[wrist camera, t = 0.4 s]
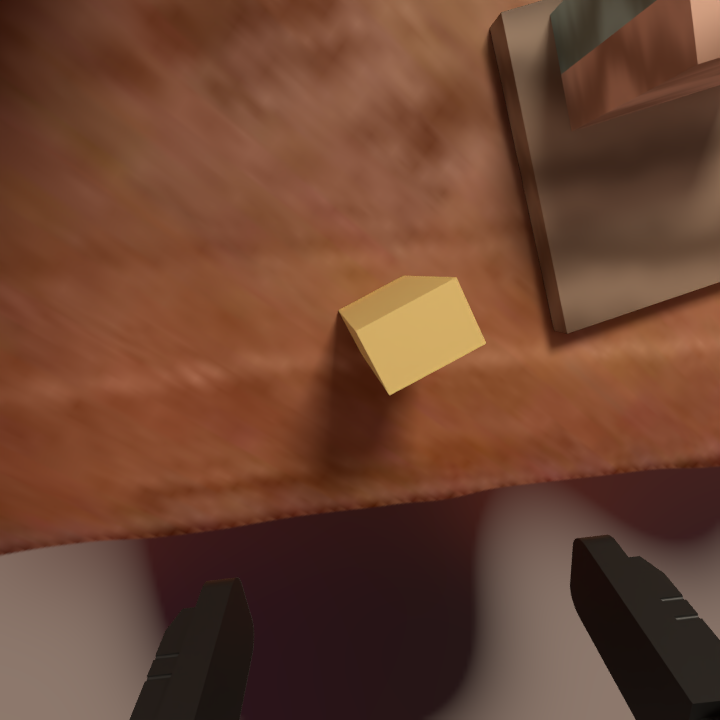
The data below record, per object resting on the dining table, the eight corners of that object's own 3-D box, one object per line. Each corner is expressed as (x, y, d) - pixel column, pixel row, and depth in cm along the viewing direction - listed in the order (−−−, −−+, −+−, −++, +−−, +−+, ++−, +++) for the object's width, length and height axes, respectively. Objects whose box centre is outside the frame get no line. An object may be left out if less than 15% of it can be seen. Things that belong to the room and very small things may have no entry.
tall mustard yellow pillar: (338, 310, 36) (355, 331, 23) (403, 275, 36) (456, 277, 23) (360, 353, 37) (389, 395, 24) (424, 319, 37) (486, 343, 24)
